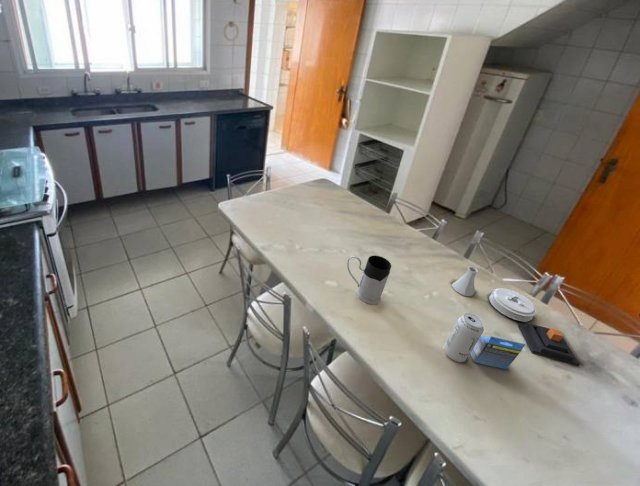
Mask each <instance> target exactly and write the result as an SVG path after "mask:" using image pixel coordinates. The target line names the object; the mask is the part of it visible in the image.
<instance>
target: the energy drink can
mask: <svg viewBox="0 0 640 486" xmlns="http://www.w3.org/2000/svg"><path fill="white" fill-rule="evenodd" d="M484 325H485V324H484V322H483V320H482V319H481V318H480V317H479V316H477V315H475V314H472V313H464V314H463V315H461V316H460V317H458V320H457V321H456V323H455V325H454V327H453V328H452V330H451V332H450V334H449V335H448V337H447V339H446V341H445V343H444V345H443V351H444V353H445V354H446V356H447V357H448V358H449V359H451V360H453V361H454V362H457V363H464V362H466V360H467V359H468V358H469V356H470V355H471V354H470V353H471V351H472V349H473V348H474V346H475V344H476V343H477V341H478V340H479V338H480V336H482V334H483V333H484V331H485V330H484Z"/></svg>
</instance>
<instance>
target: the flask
mask: <svg viewBox="0 0 640 486" xmlns="http://www.w3.org/2000/svg"><path fill="white" fill-rule="evenodd" d="M477 273H479V270H478V269H477V268H476V267H474V266H467V269H466V272H465V273H464V274H463V275H462V276H461V277H459V278H458V279H457V280H456V281H454V282H453V283H452V284H451V287H452V288H453V290H454V291H455V292H456V293H458V294H460V295H462V296H464V297H472V296H473V295H474V294H475V278H476V275H477Z"/></svg>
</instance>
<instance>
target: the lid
mask: <svg viewBox="0 0 640 486" xmlns="http://www.w3.org/2000/svg"><path fill="white" fill-rule="evenodd" d="M488 299H489V302H490V304H491V305H492V307H493V308H495V310H496V311H498V312H499V313H501V314H502V315H504V316H506V317H508V318H510V319H512V320H515V321H518V322H524V323H528V322H531V321H532V320H533V317H534V316H535V315H536V314H537V309H536V307H535V305H534V304H533V303H532V302H531V301H530V299H529V298H527V297H526V296H524V295H523V294H521V293H519V292H517V291H515V290H513V289H509V288H503V287H501V288H500V287H499V288H498V287H497V288H494V289H493V290H492V292H491V294H490V295H489V297H488Z"/></svg>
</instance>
